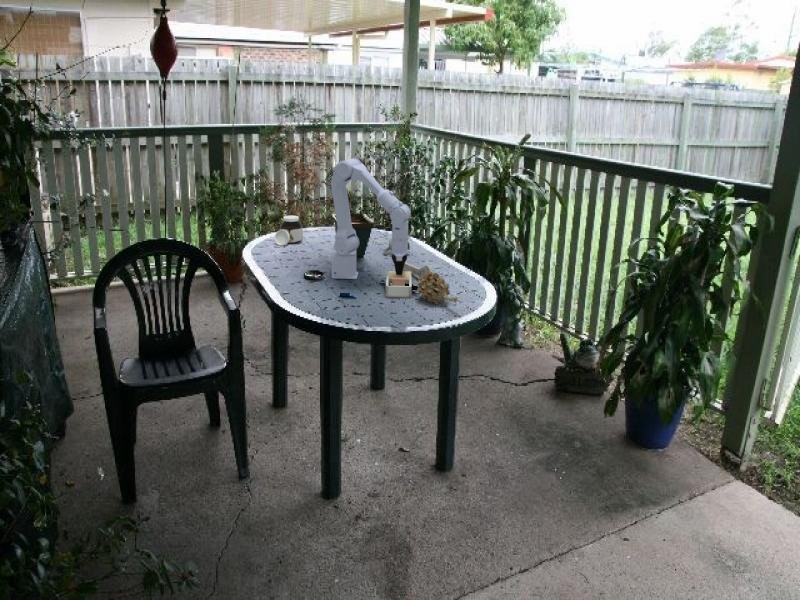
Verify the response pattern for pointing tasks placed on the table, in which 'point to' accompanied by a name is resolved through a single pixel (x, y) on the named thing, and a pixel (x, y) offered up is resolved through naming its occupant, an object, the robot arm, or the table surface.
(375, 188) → the robot arm
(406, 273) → the board
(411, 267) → the wrench
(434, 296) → the pine cone
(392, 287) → the tray
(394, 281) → the tile
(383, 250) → the ceramic mug
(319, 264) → the table surface
